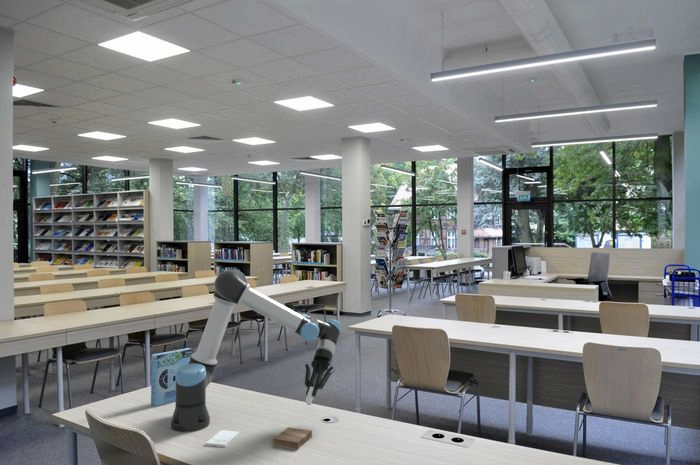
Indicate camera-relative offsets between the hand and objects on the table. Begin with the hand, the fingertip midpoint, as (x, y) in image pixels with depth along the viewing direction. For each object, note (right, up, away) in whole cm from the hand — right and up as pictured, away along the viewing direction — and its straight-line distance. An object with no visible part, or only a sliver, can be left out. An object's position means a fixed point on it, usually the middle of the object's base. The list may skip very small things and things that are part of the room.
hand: (307, 403), depth 197 cm
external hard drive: (-31, -11, -11) cm, 35 cm away
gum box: (-67, -11, +35) cm, 76 cm away
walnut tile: (-3, -9, -7) cm, 12 cm away
